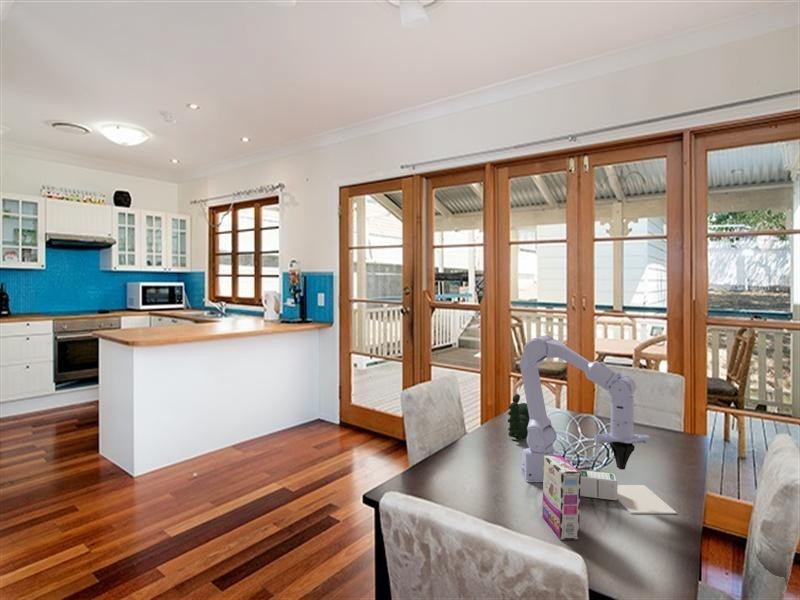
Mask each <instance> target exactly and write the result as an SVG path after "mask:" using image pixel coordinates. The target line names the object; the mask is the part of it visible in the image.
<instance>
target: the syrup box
mask: <svg viewBox="0 0 800 600" xmlns="http://www.w3.org/2000/svg"><path fill="white" fill-rule="evenodd" d="M576 469H577V470H578V471H580V472H581V481H580V497H587V498H593V499H602V500H610V501H618V500H617V485H618V480H617V476H616V473H615V472H611V471H601V470H590V469H581V468H576Z"/></svg>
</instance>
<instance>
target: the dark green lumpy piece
mask: <svg viewBox="0 0 800 600" xmlns="http://www.w3.org/2000/svg"><path fill="white" fill-rule="evenodd" d="M520 399H521V395H520V394H519V393H516V394H514V395H513V397H512V402H511V403H510V405H509V406H508V409H509V411H508V412H507V415H508V416H509V418H508V419H507V423H509V427H508V428H507V430H508V436H509V437H511V438H513V437H515V436H516V437H518V438H519V439H523V438H524V437H526V438H527V435H528V430H527V427H528V424H529V420H530V418H529V412H528V407H527V402H521V403H519V402H520Z"/></svg>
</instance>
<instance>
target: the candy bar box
mask: <svg viewBox="0 0 800 600" xmlns="http://www.w3.org/2000/svg"><path fill="white" fill-rule="evenodd" d="M577 469H578V468H576V467H575V466H574V465H573V464H571V463H570V462H569V461H568V460H567V459H566V458H565V457H563V456H562V455H558V454H557V455H550V456H544V471H543V482H542V486H543V487H542V518H543V519H544V521H545V522H546V523H547V525H548V526H549V527H550V528H551V529H552V531H553V532H554V533H555V535H556V536H557V537H558V539H559V540H560V541H566V540H567V541H574V540H576V541H577V540H580V509H581V507H580V505H581V496H580V481H581V472H580V471H578V470H577Z"/></svg>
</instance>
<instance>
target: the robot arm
mask: <svg viewBox="0 0 800 600" xmlns="http://www.w3.org/2000/svg"><path fill="white" fill-rule="evenodd" d="M522 351H523V352H522V355H521V358H520V361H519V368H520V373H521V380H522V384H523V385H522V386H523V389H524V390H523V391H524V394H525V395H524V396H525V400H526V401H525V403H527V407H528V412H529V418H530V420H529V424H528V427H527V430H528V434H527V437H526V443H527V444H526V445H527V446H528V447H527V448H522V450H521V458H520V459H521V461H520V463H521V464H520V465H521V466H520V473H521V475H522V477H523V478H524V480H525V481H526V482H527V483H543V471H544V456H550V455H554V454H555V453H554V451H555V448H554V443H555V442H556V441H557V432H556V430H555V428H554V426H553V425H552V421H551V419H550V418H549V417H548V414H547V410H546V403H545V399H544V393H543V388H542V383H541V382H542V381H541V377H540V372H539V367H540V365H541V363H542V362H543V361H544V360H545V359H549V358H550V359H557V358H558V359H561V360H563V361H565V362H567V363H568V364H570V365H572V366H574V367H575V368H577V369H579V370H581V371H582V372H584V374H585V377H586V379H588V380H589V381H591V382H593V383H594V384H596V385H597V386H599V387H601V388H603V389H604V390H606V391H608V393H609V395H610V396H611V403H610V432H606V433H601V434H600V433H599V434H598V433H597V434H593V442H594V443H595V444H607V443H608V445H609V446H610V449H611V450H612V453H613V455H614V459H615V463H616V468H618V469H619V470H622V471H623V470H626V466H627V463H628V461H629V458H630V456H631V455H632V453H633V452H634V451H635V449H636V448H635V447H636V446H635V445H634V444H644V445H649V444H650V436H649V435H647V434H638V433H634V416H635V415H634V413H635V411H634V410H635V405H634V394H635V392H636V390H637V386H636V382H635V381H634V380H633V379H632V378H631V377H630V376H629V375H622V373H621V372H619V371H618V372H616V371H614V370H613V369H611V368H610V367H608V366H606V363H605V362H604V361H600V362H599V361H598V360H596V361H590V360H588V359H587V358H585V357H584V356H582V355H580V354H579V353H577V351H574V350H573V349H571V348H570V347H568V346H567V345H566V344H564V343H563V342H561V341H560V340H558V339H556V338H555V339H554V338H553V337H552V336H550V335H541V336H539V337H533V338H530V339H529V340H528V341H527V342H525V344H524V345H523V350H522Z"/></svg>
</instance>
